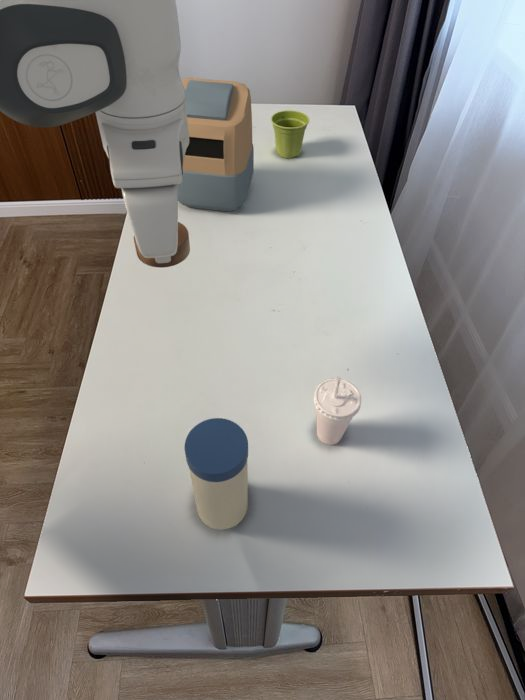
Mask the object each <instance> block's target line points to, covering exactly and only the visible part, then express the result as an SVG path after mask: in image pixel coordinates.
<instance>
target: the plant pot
mask: <svg viewBox="0 0 525 700" xmlns="http://www.w3.org/2000/svg"><path fill="white" fill-rule="evenodd" d="M270 122H271V124H272V128H273V132H274V140H275V141H274V142H275V151H276V154H277V155H278V156H279V157H281V158H285V159H292V158H294V157H299V156H300V155H301V152H302V146H303V143H304V136H305V132H306V130H307V128H308V125H309V123H310V117H309V116H308V115H307V114H306V113H304V112H302V111H299V110H292V109H291V110H290V109H288V110H280V111H277V112H274V113H273V114H272V115H271V116H270Z"/></svg>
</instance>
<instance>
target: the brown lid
mask: <svg viewBox="0 0 525 700" xmlns="http://www.w3.org/2000/svg"><path fill="white" fill-rule="evenodd" d="M189 234H190V233H189V230H188V228H187V227H186V226H185V225H184V224H183V223H181V222H180V221H178V245H177V252H176V254H175V255H173V256H171V261H170V262H168V263H157V262H156V261H155V258H145V257H144V256H143V255H142V254H141V252H140V251H139V248H138V246H137V243H136V240H135V236H134V235H133V243H134V247H135V252H136V256H137V258H138V260H139V261H140V262H141V263H142V264H144V265H147V266H149V267H153V268H170V267H174V266H176V265H179V264H180V263H182V262H183V261H185V260H186V259H187V258H188V257H189V255H190V252H191V244H190V237H189V236H190V235H189Z"/></svg>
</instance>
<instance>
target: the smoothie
mask: <svg viewBox="0 0 525 700" xmlns="http://www.w3.org/2000/svg"><path fill="white" fill-rule="evenodd" d="M313 404H314V406H315V414H316V415H315V416H316V436H317V438H318V440H319V441H320V442H321V443H323V444H324V445H328V446H334V445H337V444H338V443H340V441H341V440H342V438H343V436H344V434H345V432H346V431H347V428H348V427H349V425H350V423H351V421H352V420H353V418H354V417H355V416H356V415H357V414H359V411H360V410H361V405H362V395H361V392H360V390H359V389H358V387H357V386H356V385H355V384H353V383H352V382H351V381H348V380H346V379H343V378H342V377H341V376H337V377H334V378H333V377H332V378H328V379H325V380H323V381H321V382H320V383H319V384H318V385H317V386H316V388H315V390H314V394H313Z"/></svg>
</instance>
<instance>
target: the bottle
mask: <svg viewBox="0 0 525 700" xmlns="http://www.w3.org/2000/svg"><path fill="white" fill-rule="evenodd" d="M183 448H184V449H183V450H184V455H185V461H186V464H187V466H188V471H189V475H190V481H191V486H192V491H193V497H194V501H195V506H196V511H197V515H198V517H199V518H200V520H201V522H203V523H204V525H206V526H207V527H209V528H211V529H214V530H217V531H218V530H219V531H220V530H229V529H231V528H234V527H236V526H237V525H238V524H240V523H241V522H242V520H243V519H244V518H245V516H246V514H247V512H248V507H249V505H248V504H249V501H248V500H249V493H248V492H249V491H248V488H249V487H248V486H249V485H248V477H249V476H248V459H249V440H248V437H247V434H246V432H245V431H244V429H243V428H242V427H241V426H240V425H239V424H238V423H237V422H234V421H232V420H230V419H227V418H222V417H214V418H213V417H212V418H208V419H205V420H202V421H200V422H199V423H197V424H196V425H195V426H193V428H191V430H190V431H189V433H188V434H187V435H186V438H185V441H184V447H183Z"/></svg>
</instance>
